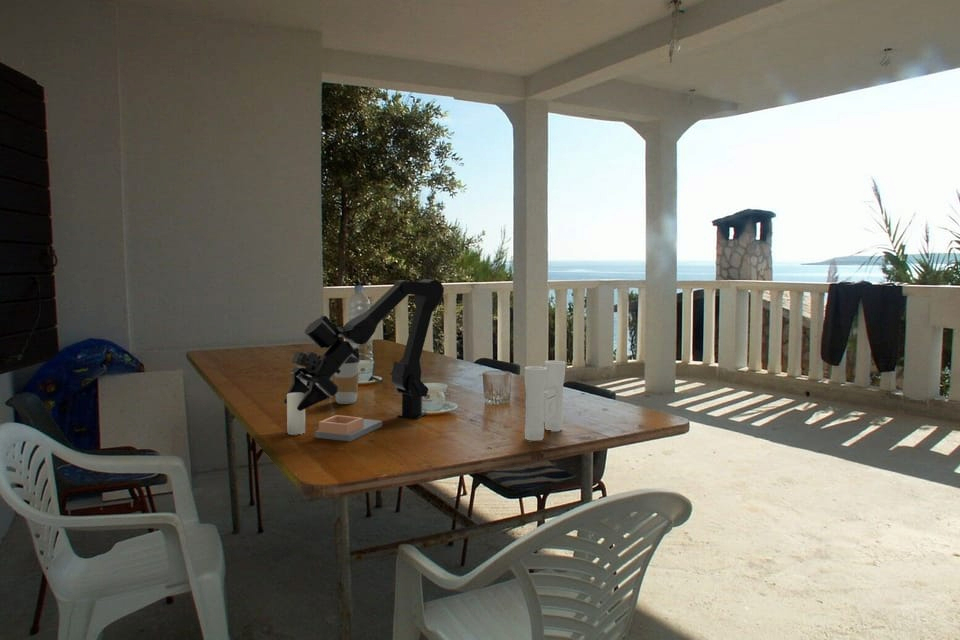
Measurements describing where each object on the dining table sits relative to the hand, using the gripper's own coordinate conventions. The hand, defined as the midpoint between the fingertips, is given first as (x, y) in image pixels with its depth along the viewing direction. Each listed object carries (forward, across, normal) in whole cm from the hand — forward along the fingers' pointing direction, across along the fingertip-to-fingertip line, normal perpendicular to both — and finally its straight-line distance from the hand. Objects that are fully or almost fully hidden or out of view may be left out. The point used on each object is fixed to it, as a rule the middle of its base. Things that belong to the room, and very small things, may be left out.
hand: (291, 406), depth 168 cm
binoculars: (-33, +36, +42) cm, 65 cm away
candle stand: (-4, +7, +14) cm, 16 cm away
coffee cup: (-14, -27, +24) cm, 39 cm away
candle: (+4, 0, +6) cm, 7 cm away
